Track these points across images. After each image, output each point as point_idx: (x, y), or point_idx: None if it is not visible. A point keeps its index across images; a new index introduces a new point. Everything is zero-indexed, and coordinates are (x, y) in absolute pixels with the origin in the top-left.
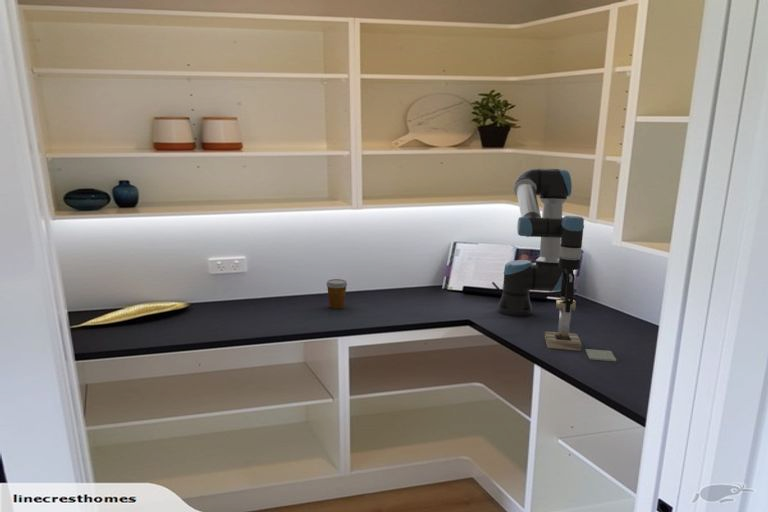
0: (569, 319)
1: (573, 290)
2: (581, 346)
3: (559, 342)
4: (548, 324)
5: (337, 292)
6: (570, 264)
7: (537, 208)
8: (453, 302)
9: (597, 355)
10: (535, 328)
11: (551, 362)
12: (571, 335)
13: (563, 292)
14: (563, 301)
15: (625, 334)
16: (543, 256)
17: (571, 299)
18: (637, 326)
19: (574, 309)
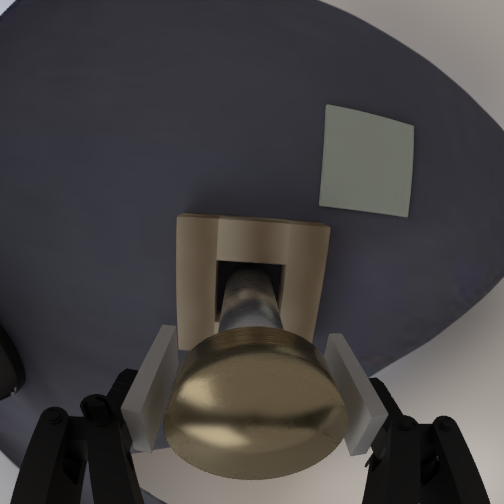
0: (342, 342)
1: (487, 499)
2: (327, 226)
3: (316, 318)
4: (38, 285)
5: None
6: None
7: None
8: (23, 439)
9: (385, 179)
10: (92, 341)
11: (419, 338)
12: (207, 248)
13: (134, 477)
14: (281, 454)
15: (97, 22)
16: None
17: (456, 447)
18: (39, 6)
19: (306, 343)
